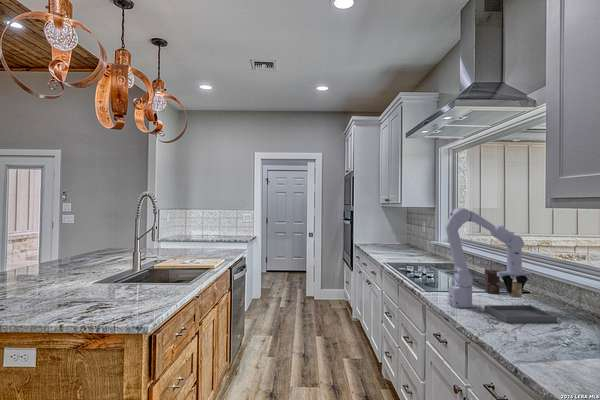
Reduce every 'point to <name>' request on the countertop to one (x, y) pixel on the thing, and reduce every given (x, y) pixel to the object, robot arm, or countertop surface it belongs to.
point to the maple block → (516, 290)
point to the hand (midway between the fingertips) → (514, 292)
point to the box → (492, 281)
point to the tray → (520, 314)
